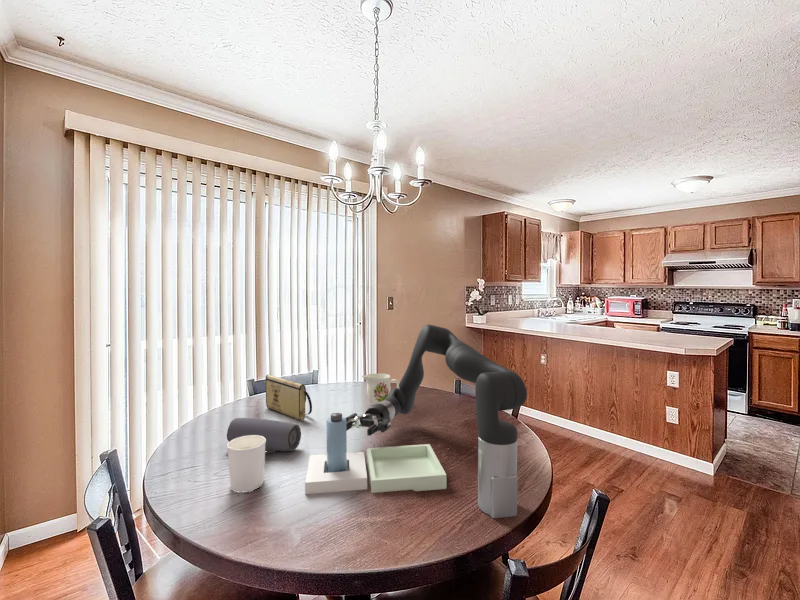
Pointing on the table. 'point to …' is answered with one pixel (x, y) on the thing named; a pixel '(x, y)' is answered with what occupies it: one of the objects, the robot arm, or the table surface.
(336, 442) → the bottle
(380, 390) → the pitcher
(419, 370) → the robot arm
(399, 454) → the tray
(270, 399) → the clutch purse
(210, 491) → the table surface
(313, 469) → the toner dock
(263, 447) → the candle holder
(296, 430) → the bluetooth speaker
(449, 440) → the table surface
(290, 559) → the table surface
